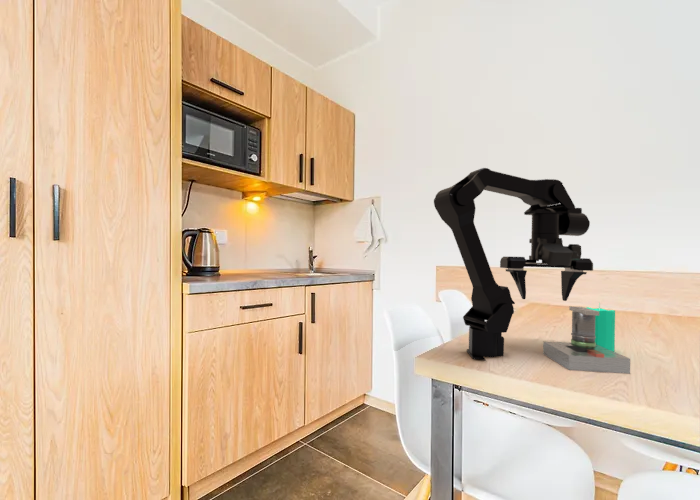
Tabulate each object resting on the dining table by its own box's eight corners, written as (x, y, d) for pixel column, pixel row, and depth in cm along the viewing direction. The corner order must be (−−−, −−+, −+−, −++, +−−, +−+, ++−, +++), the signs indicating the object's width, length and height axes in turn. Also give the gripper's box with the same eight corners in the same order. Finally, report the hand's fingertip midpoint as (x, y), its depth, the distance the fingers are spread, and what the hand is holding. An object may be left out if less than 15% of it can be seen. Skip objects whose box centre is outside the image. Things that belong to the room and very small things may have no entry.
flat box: (561, 377, 64) (562, 354, 64) (526, 352, 80) (527, 335, 80) (654, 382, 62) (654, 359, 62) (600, 357, 78) (600, 338, 78)
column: (580, 349, 68) (581, 310, 68) (564, 341, 74) (564, 306, 74) (603, 350, 67) (604, 311, 67) (585, 342, 74) (585, 307, 74)
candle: (620, 357, 78) (620, 305, 78) (590, 355, 79) (591, 303, 79) (606, 350, 84) (606, 301, 84) (579, 348, 85) (579, 300, 85)
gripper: (516, 231, 74) (515, 303, 73) (609, 232, 71) (608, 306, 71) (500, 234, 85) (498, 296, 84) (579, 235, 82) (578, 299, 82)
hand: (544, 299), depth 80 cm, fingers open, 9 cm apart
